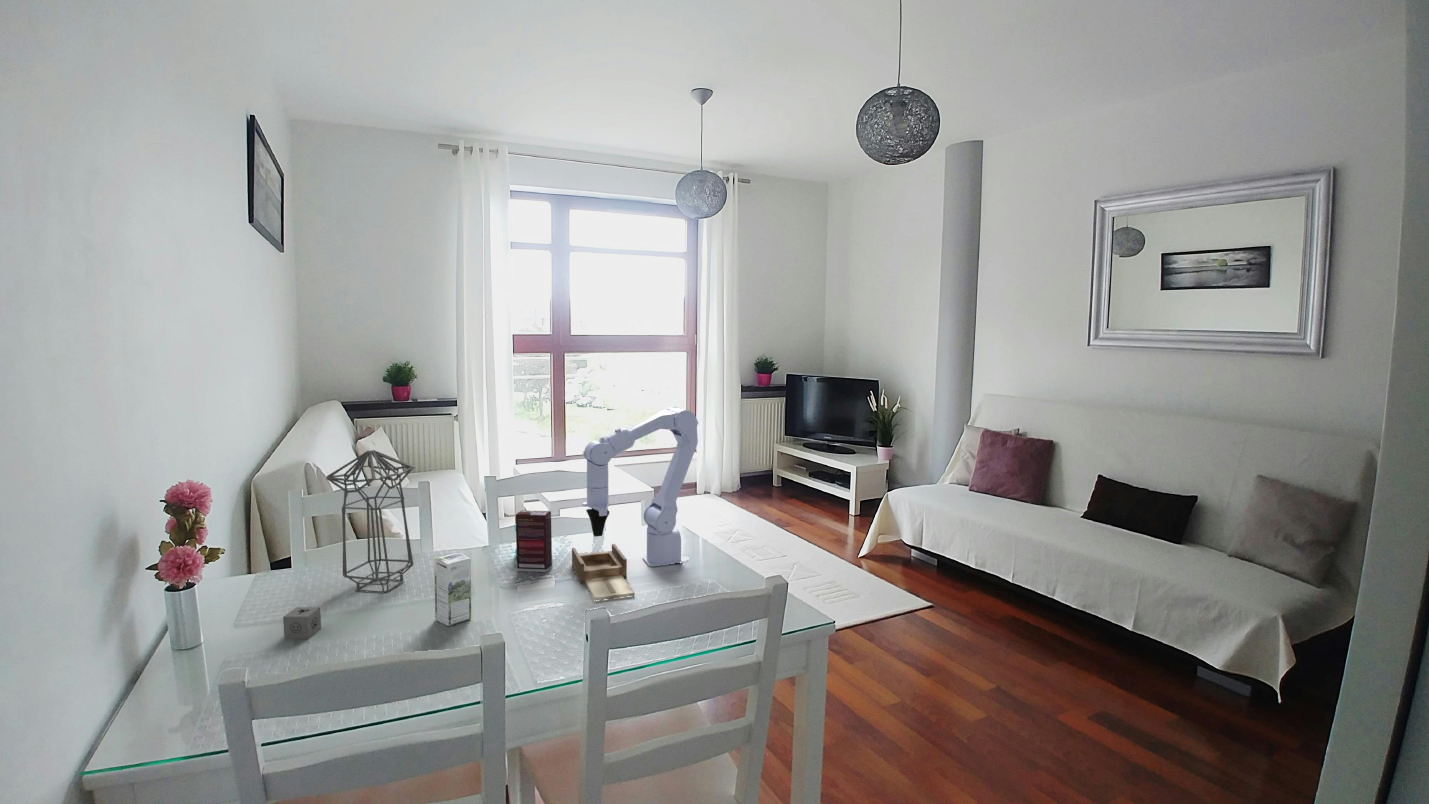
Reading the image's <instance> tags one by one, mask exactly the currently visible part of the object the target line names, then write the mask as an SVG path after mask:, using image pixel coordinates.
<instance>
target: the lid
mask: <svg viewBox="0 0 1429 804" xmlns="http://www.w3.org/2000/svg"><path fill="white" fill-rule="evenodd" d="M584 584H585V586H586V588H587V590H588V592H589V591H590V592H589V593H591V594H590V595H591V597H592V596H593V597H592V599H593V598H594V599H593V601H594V600H595V601H596V600H604V599H614V598H620V597H627V596H634V595H636V594H635V593H636V592H635V591H634V589H633V588H632V587H631V585H630V583H628V581H627V579H626V578H625V579H624V577H623V576H622V575H620V576H612V577H603V578H595V579H586V580H585V583H584ZM614 600H615V599H614ZM595 601H594V602H595Z"/></svg>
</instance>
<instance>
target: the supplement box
mask: <svg viewBox="0 0 1429 804" xmlns="http://www.w3.org/2000/svg"><path fill="white" fill-rule="evenodd" d="M515 525H516V531H515V538H516V540H515V541H516V542H515V543H516V544H515V545H516V547H515V548H517V556H516V571H517V572H525V573H527V572H528V573H529V572H530V573H532V572H533V573H548V571H550V570H551V569H552V568H553V550H552V548H553V545H552V543H553V541H552V537H553V536H552V511H551V510H550V511H549V510H523V509H522V510H520V511H519V512H516V513H515Z"/></svg>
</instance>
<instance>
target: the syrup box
mask: <svg viewBox="0 0 1429 804" xmlns="http://www.w3.org/2000/svg"><path fill="white" fill-rule="evenodd" d="M471 560H472V559H471V558H470V557H469V556H467V555H465V554H463V553H460V552H455V553H451V554H448V555H444V556H439V557H436V558H434V559H433V562H434V566H433V567H434V605H435V607H434V609H435V610H434V612H435V613H434V617H435V620H436V621H437V622H439V623H441V624H442V625H445V626H447V627H451V626H452V627H453V625H457V624H460V623H464V622H466V621H469V620H471V619H472V561H471Z"/></svg>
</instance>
